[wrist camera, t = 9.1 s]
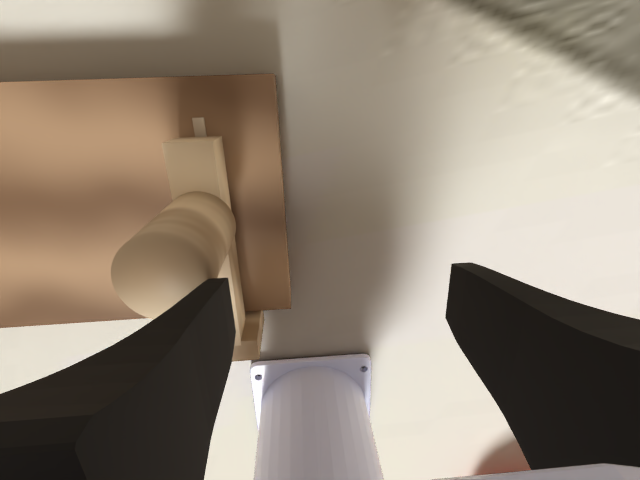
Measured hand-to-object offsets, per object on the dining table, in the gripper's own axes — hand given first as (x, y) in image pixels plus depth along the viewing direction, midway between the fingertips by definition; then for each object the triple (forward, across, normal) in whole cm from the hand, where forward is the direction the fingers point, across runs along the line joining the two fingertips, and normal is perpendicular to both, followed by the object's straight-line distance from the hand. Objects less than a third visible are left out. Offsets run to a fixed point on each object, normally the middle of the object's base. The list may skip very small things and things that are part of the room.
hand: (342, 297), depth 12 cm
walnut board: (+9, +12, -1) cm, 15 cm away
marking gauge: (+9, +6, 0) cm, 11 cm away
